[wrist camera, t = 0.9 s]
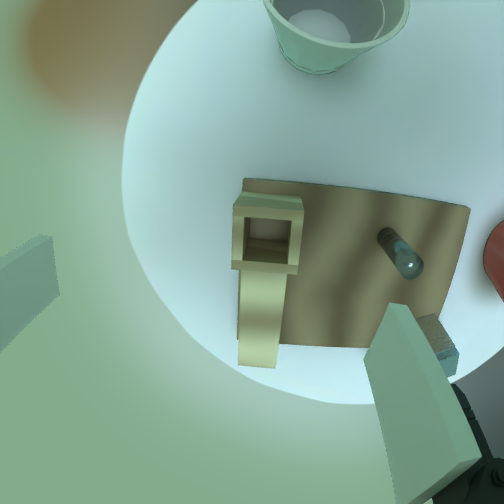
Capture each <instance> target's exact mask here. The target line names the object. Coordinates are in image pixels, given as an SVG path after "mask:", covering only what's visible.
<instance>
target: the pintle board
mask: <svg viewBox="0 0 504 504" xmlns="http://www.w3.org/2000/svg"><path fill="white" fill-rule="evenodd" d="M242 191H247V192H262V193H275V194H287V195H299V196H301V199H302V203H303V207H304V219H303V228H302V237H301V246H300V255H299V263H298V271H297V275H294V274H287V280H286V289H285V297H284V306H283V314H282V322H281V330H280V337H279V344H292V345H307V346H326V347H353V348H369V347H370V345H371V343H372V341H373V339H374V337H375V334H376V332H377V330H378V328H379V326H380V323H381V321H382V319H383V316H384V314H385V312H386V310H387V307H388V305H389V302H390V303H396V304H403V305H407V306H408V308H409V309H410V311H411V313H412V315H413V316H414V318H415V319H416V318H419V317H422V316H425V315H429V314H432V313H434V314H435V315H436V317H437V318H439V315H440V312H441V310H442V307H443V304H444V302H445V299H446V296H447V293H448V290H449V287H450V284H451V281H452V278H453V275H454V272H455V269H456V265H457V262H458V258H459V255H460V251H461V248H462V244H463V240H464V236H465V232H466V228H467V224H468V219H469V215H470V210H471V209H470V208H468V207H466V206H462V205H457V204H452V203H447V202H442V201H436V200H431V199H425V198H419V197H413V196H407V195H400V194H394V193H387V192H380V191H373V190H365V189H358V188H349V187H341V186H332V185H323V184H313V183H303V182H292V181H280V180H267V179H252V178H244V179H243V187H242ZM288 226H289V220H278V219H266V218H253V217H250V233H249V238H260V239H273V240H285V241H287V236H288ZM386 227H390V228H393V229H394V230H395V231H396V232H397V233H398V234H399V235H400V236H401V237H402V238H403V239H404V240H405V241H406V242H407V244H408V245H409V246H410V247H411V248H412V249H413V250H414V251H415V252H416V253H417V254H418V255H419V256H420V257H421V258H422V260H423V262H424V268H423V271H422V273H421V274H420V275H419V276H418V277H417V278H415V279H413V280H407V279H405V278H403V277H402V275H401V274H400V272H399V271H398V270H397V268H396V267H395V265H394V264H393V263H392V261H391V260H390V258H389V257H388V256H387V254H386V253H385V252H384V250H383V249H382V248H381V246H380V245H379V243H378V241H377V236H378V233H379V232H380V230H382V229H383V228H386ZM240 288H241V270H239V292H238V324H237V340H239V316H240Z"/></svg>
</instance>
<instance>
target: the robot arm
mask: <svg viewBox="0 0 504 504" xmlns="http://www.w3.org/2000/svg"><path fill="white" fill-rule="evenodd" d="M59 295H60V293H59V287H58V280H57V274H56V266H55V258H54V250H53V240H52V237H51V236H47V235H43V234H38V235H37V236H35V237H33V238H32V239H30V240H28V241H27V242H25V243H23V244H22V245H20V246H18V247H16V248H15V249H13V250H12V251H10V252H8V253H7V254H5V255H4V256H2V257H0V353H1V352H2V351H3V350H4V349H5V348H6V347H7V345H8V344H9V343H10V342H11V341H12V340H13V339H14V338H15V337H16V336H17V335H18V334H19V333H20V332H21V331H22V330H23V329H24V328H25V327H26V326H27V325H28V324H29V323H30V322H31V321H32V320H33V319H35V318H36V317H37V315H39V313H41V312H42V311H43V310H44V309H45V308H46V307H47V306H48V305H49V304H50V303H51V302H52V301H54V300H55V299H56V298H57V297H58V296H59ZM363 360H364V363H365V367H366V370H367V374H368V378H369V381H370V385H371V389H372V393H373V397H374V401H375V405H376V408H377V413H378V417H379V421H380V425H381V429H382V434H383V438H384V442H385V447H386V452H387V457H388V462H389V466H390V471H391V477H392V482H393V488H394V493H395V499H396V504H423V503H424V502H426V501H427V500H429V499H430V498H432V500H433V504H504V459H501V458H493V456H492V454H491V451H490V449H489V446H488V444H487V442H486V439H485V437H484V435H483V432H482V430H481V428H480V425H479V424H478V421H477V420H475V418H476V417H475V415H474V413H473V410H471V406H470V404H469V402H468V400H467V398H466V396H465V394H464V393H463V392H462V391H461V390H460V389H459V388H458V387H457V386H456V384H450V383H449V380H448V379H447V377H446V375H445V373H444V371H443V369H442V367H441V365H440V363H439V361H438V359H437V357H436V355H435V353H434V352H433V350H432V348H431V346H430V344H429V342H428V341H427V339H426V337H425V335H424V334H423V332H422V330H421V328H420V327H419V325H418V323H417V321H416V320H415V318H414V316H413V315H412V313H411V311H410V309H409V308H408V306H407V305H403V304H396V303H390V302H389V305H388V307H387V310H386V312H385V314H384V316H383V319H382V321H381V323H380V326H379V328H378V330H377V332H376V334H375V337H374V339H373V341H372V343H371V345H370V347H369V349H368V351H367V353H366V355H365V357H364V359H363Z"/></svg>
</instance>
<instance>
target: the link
mask: <svg viewBox="0 0 504 504" xmlns="http://www.w3.org/2000/svg"><path fill="white" fill-rule="evenodd" d="M250 217H253V218H266V219H278V220H289V226H288V236H287V241H285V240H273V239H260V238H249V233H250ZM303 219H304V207H303V203H302V199H301V196H299V195H287V194H275V193H262V192H247V191H242V192H241V194H240V195H239V197H238V199H237V200H236V202H235V203H234V205H233V228H232V266H231V269H236V270H241V288H240V316H239V346H238V365H242V366H252V367H262V368H274V369H275V367H276V360H277V352H278V345H279V337H280V330H281V322H282V314H283V306H284V297H285V289H286V280H287V274H294V275H297V271H298V263H299V255H300V246H301V237H302V228H303Z"/></svg>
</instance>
